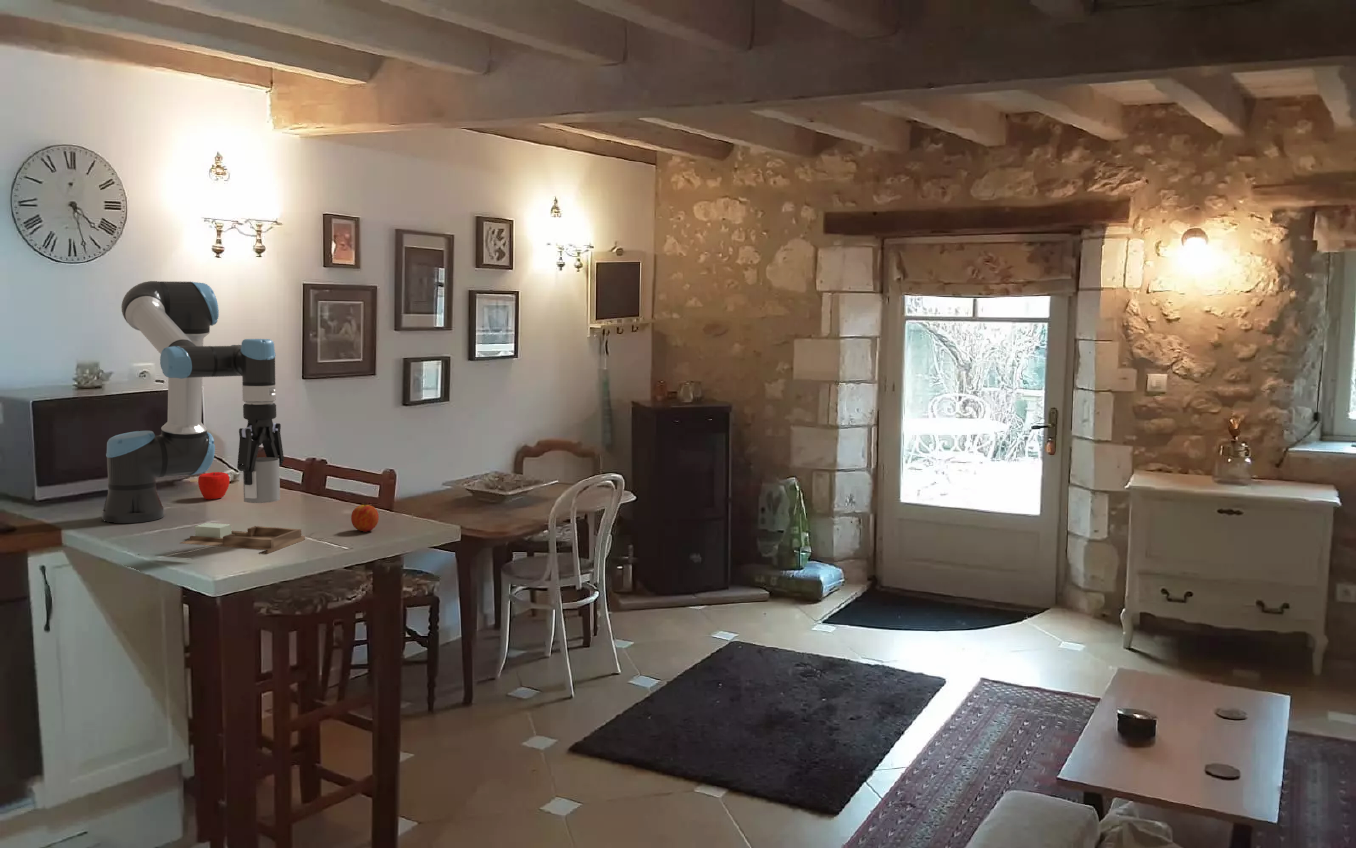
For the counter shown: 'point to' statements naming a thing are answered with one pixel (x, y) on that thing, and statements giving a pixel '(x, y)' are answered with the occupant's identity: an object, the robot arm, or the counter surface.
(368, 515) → the fruit
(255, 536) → the jig
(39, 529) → the counter surface
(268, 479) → the cup
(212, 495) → the apple
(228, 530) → the pale green block
